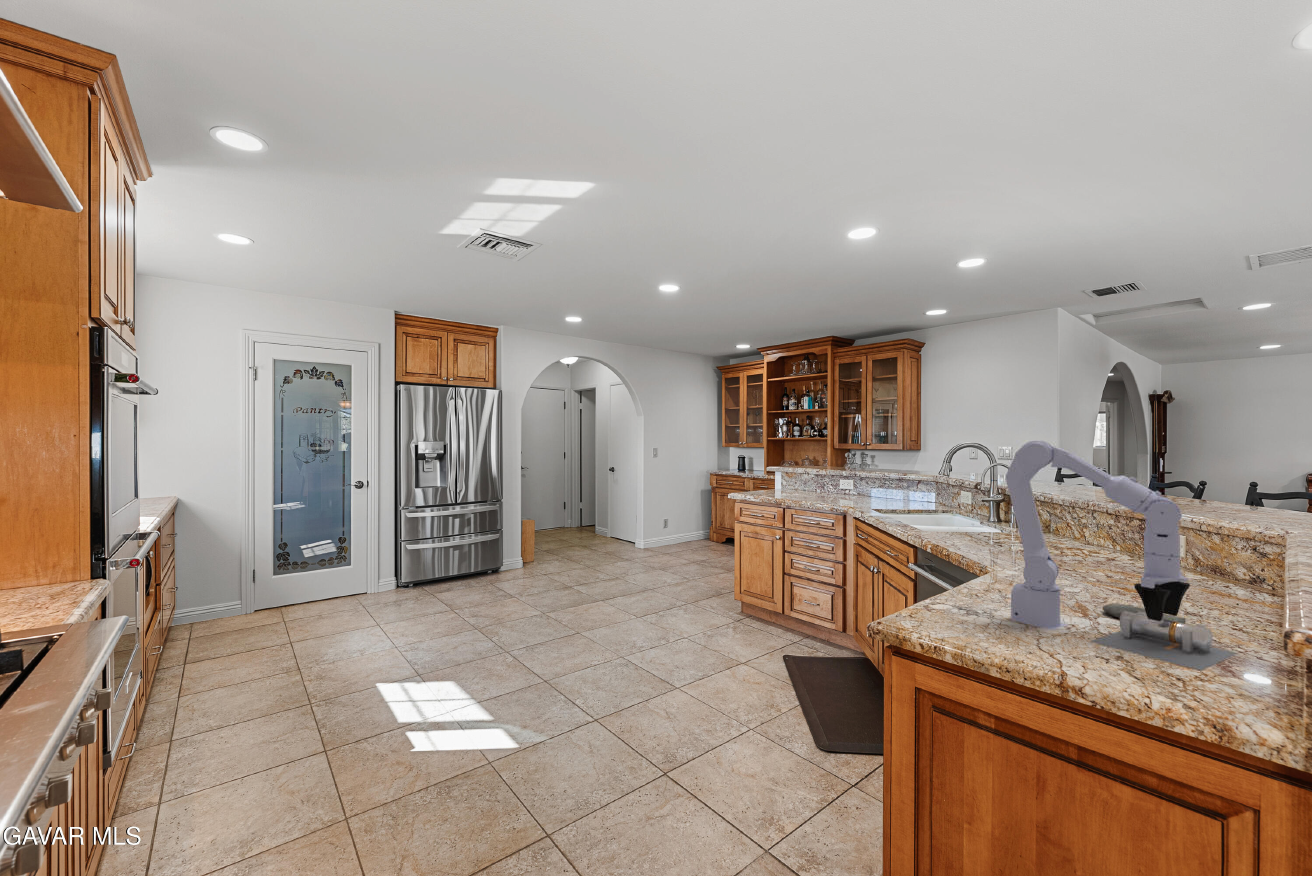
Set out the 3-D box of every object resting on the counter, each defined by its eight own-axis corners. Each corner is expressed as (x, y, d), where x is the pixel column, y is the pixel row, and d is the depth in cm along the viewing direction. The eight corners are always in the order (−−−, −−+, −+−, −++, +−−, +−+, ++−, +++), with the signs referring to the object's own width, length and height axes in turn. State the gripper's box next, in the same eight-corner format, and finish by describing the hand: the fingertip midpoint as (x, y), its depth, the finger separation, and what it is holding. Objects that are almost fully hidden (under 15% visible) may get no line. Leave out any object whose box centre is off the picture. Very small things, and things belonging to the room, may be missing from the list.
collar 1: (1123, 637, 122) (1122, 617, 122) (1139, 631, 126) (1139, 611, 126) (1129, 639, 121) (1129, 618, 121) (1146, 633, 125) (1146, 613, 125)
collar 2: (1182, 652, 113) (1182, 630, 113) (1198, 645, 117) (1198, 623, 117) (1190, 654, 112) (1189, 631, 112) (1206, 647, 116) (1206, 625, 116)
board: (1089, 644, 120) (1089, 641, 120) (1129, 630, 128) (1129, 627, 128) (1201, 673, 104) (1201, 670, 104) (1237, 656, 112) (1237, 653, 112)
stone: (1098, 618, 137) (1180, 642, 126) (1100, 603, 136) (1183, 626, 125) (1106, 605, 144) (1184, 626, 133) (1108, 590, 143) (1187, 611, 133)
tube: (1119, 632, 124) (1119, 612, 124) (1129, 629, 126) (1128, 609, 126) (1204, 652, 111) (1203, 630, 111) (1212, 648, 113) (1212, 627, 114)
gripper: (1171, 560, 112) (1171, 627, 112) (1200, 553, 119) (1201, 617, 119) (1128, 554, 118) (1129, 618, 118) (1158, 548, 125) (1159, 608, 125)
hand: (1162, 617), depth 119 cm, fingers open, 7 cm apart
